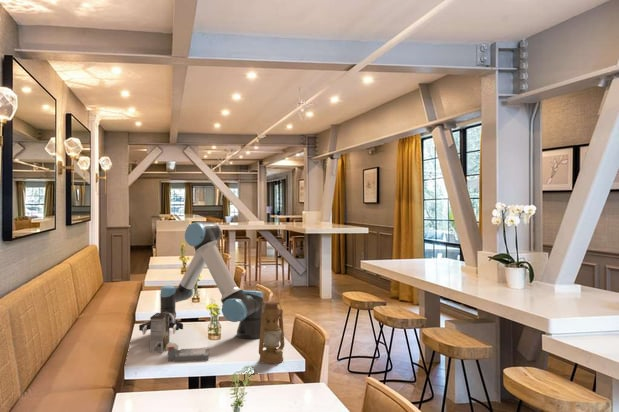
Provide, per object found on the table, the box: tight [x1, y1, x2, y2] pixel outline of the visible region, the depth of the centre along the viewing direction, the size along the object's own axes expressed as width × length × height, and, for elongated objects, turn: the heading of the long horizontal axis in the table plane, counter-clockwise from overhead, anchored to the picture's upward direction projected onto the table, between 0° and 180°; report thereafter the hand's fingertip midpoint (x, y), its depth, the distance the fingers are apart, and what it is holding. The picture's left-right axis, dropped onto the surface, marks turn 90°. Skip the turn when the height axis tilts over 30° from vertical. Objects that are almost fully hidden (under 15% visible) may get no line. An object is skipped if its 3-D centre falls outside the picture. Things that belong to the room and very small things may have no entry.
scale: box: [165, 341, 210, 363], centre depth 222 cm, size 18×10×8 cm, turn 98°
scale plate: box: [179, 347, 207, 356], centre depth 222 cm, size 11×9×1 cm
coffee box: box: [149, 312, 170, 353], centre depth 235 cm, size 9×6×16 cm
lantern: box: [258, 290, 285, 365], centre depth 218 cm, size 15×10×30 cm
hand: (158, 331), depth 233 cm, fingers open, 13 cm apart
